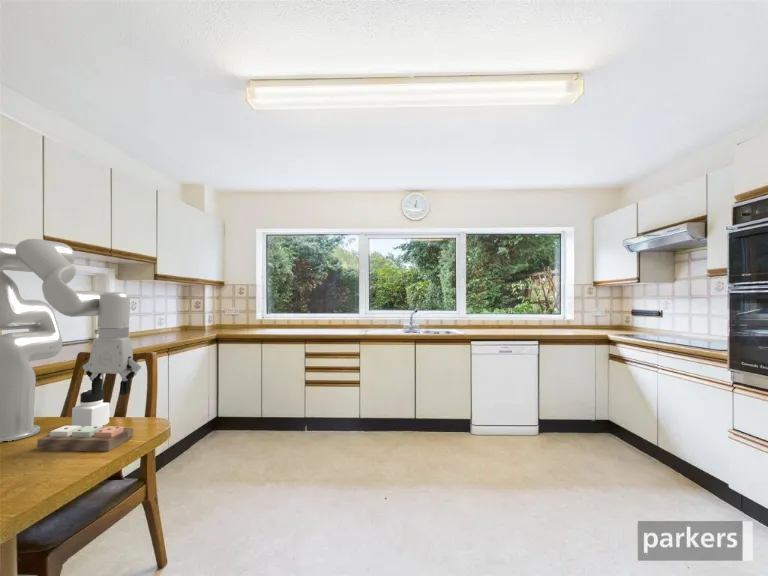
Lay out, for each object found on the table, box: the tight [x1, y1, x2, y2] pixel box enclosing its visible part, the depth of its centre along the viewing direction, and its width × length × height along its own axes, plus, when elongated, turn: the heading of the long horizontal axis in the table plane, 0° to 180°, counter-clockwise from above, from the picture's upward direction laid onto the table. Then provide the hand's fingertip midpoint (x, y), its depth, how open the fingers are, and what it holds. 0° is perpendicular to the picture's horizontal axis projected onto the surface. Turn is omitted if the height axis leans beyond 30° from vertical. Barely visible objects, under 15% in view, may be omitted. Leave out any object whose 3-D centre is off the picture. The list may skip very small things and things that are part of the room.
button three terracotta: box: [94, 425, 125, 438], centre depth 108 cm, size 5×5×2 cm
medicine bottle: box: [71, 388, 111, 427], centre depth 122 cm, size 7×7×12 cm
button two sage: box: [72, 426, 104, 437], centre depth 108 cm, size 5×5×2 cm
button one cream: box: [49, 425, 82, 437], centre depth 108 cm, size 5×5×2 cm
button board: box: [36, 427, 134, 452], centre depth 108 cm, size 20×10×3 cm, turn 90°
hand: (110, 393), depth 109 cm, fingers open, 7 cm apart
